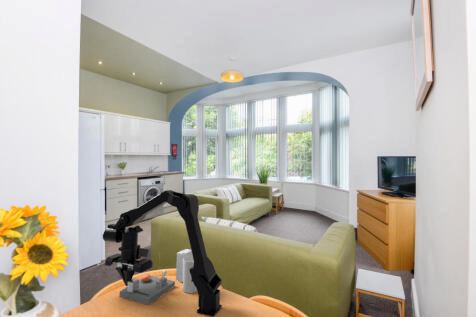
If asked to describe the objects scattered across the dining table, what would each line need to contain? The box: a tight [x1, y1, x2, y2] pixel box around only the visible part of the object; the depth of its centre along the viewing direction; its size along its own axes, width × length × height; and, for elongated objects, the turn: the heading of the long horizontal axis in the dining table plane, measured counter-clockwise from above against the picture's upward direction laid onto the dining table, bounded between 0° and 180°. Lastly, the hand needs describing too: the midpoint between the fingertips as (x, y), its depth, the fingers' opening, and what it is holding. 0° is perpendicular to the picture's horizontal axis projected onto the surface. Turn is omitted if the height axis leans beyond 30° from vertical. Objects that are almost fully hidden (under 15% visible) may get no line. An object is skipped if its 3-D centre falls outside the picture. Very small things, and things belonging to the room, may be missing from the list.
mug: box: [182, 256, 197, 294], centre depth 90 cm, size 10×7×12 cm, turn 175°
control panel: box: [119, 275, 176, 306], centre depth 86 cm, size 14×14×4 cm
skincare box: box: [175, 248, 193, 283], centre depth 97 cm, size 6×4×12 cm
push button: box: [141, 274, 151, 282], centre depth 90 cm, size 3×3×2 cm
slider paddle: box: [127, 278, 140, 293], centre depth 83 cm, size 2×3×4 cm
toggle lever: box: [159, 269, 168, 284], centre depth 87 cm, size 2×2×6 cm
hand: (127, 285), depth 84 cm, fingers closed
